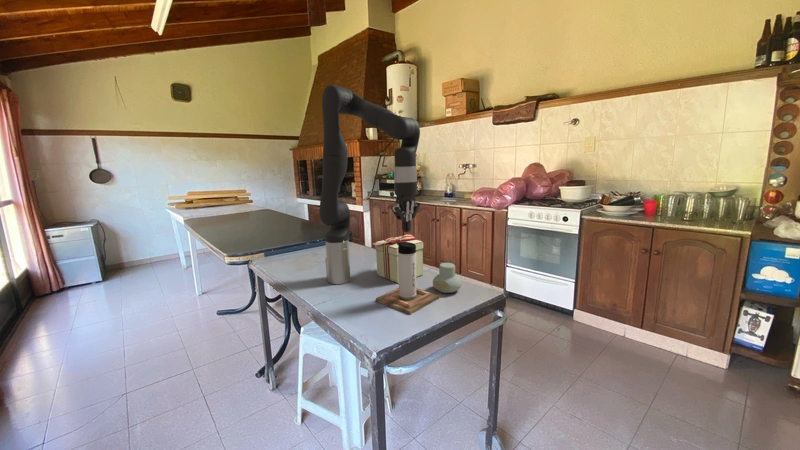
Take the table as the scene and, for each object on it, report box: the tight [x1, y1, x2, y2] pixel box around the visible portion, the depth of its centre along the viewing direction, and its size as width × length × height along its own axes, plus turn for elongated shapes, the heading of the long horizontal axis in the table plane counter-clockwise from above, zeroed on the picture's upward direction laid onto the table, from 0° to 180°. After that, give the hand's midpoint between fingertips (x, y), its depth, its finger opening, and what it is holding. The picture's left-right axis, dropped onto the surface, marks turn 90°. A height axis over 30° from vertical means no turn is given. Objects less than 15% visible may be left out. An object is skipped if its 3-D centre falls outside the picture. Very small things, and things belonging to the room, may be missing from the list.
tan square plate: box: [375, 287, 440, 315], centre depth 115 cm, size 16×16×2 cm
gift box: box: [371, 233, 424, 284], centre depth 138 cm, size 17×18×17 cm
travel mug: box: [397, 242, 417, 300], centre depth 113 cm, size 6×7×20 cm
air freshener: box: [432, 262, 463, 294], centre depth 122 cm, size 11×8×10 cm
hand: (406, 231), depth 110 cm, fingers closed
